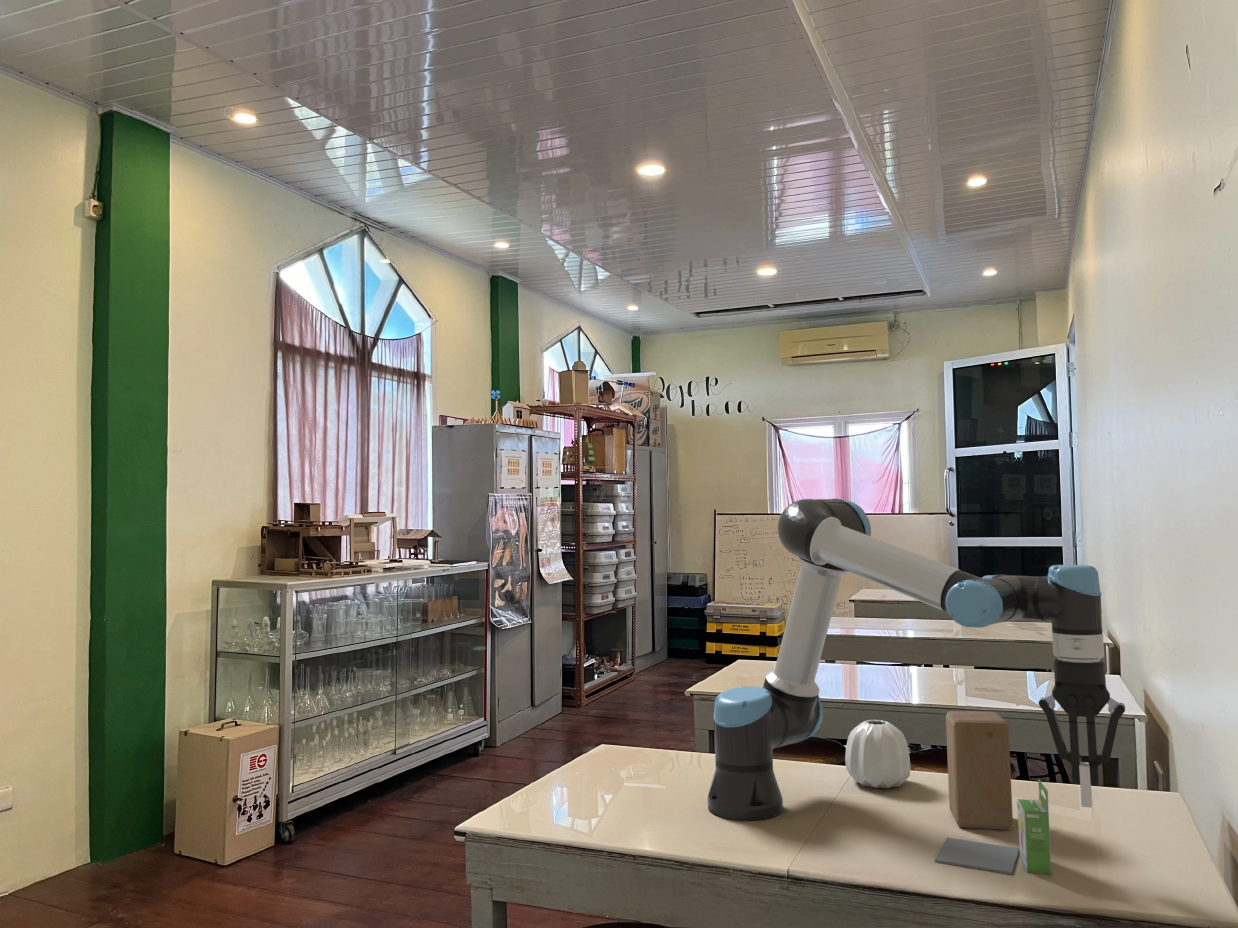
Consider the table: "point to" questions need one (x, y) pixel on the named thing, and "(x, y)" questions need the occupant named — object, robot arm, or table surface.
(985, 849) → the mat
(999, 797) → the wooden block
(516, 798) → the table surface
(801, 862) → the table surface
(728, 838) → the table surface
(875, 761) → the vase
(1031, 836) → the ink box
